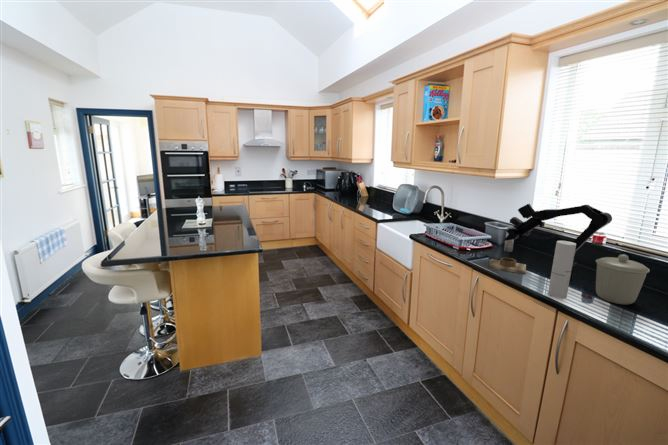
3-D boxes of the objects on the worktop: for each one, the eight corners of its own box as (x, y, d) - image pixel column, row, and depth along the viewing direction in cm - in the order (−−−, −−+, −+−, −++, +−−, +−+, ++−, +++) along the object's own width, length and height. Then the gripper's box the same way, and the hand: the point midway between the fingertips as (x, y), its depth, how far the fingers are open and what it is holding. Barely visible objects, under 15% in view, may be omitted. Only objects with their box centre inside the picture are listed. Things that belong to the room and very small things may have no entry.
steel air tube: (512, 250, 197) (515, 227, 194) (512, 252, 193) (515, 229, 190) (504, 249, 199) (507, 226, 196) (503, 251, 195) (506, 228, 192)
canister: (589, 288, 160) (598, 246, 155) (639, 299, 149) (650, 254, 144) (588, 300, 146) (597, 255, 142) (643, 313, 135) (654, 264, 130)
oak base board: (525, 266, 188) (526, 264, 188) (525, 274, 176) (525, 271, 176) (491, 261, 197) (491, 258, 197) (488, 267, 185) (489, 265, 185)
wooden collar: (515, 264, 188) (516, 259, 187) (515, 268, 181) (516, 263, 180) (500, 261, 192) (501, 256, 191) (499, 265, 185) (500, 260, 184)
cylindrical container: (570, 298, 147) (580, 245, 142) (554, 298, 147) (563, 244, 142) (559, 292, 154) (569, 240, 149) (544, 291, 154) (553, 240, 149)
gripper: (527, 212, 194) (506, 226, 204) (512, 214, 183) (490, 230, 194) (540, 227, 189) (517, 241, 200) (525, 231, 178) (502, 246, 189)
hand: (507, 239), depth 196 cm, fingers closed on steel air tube, 4 cm apart
